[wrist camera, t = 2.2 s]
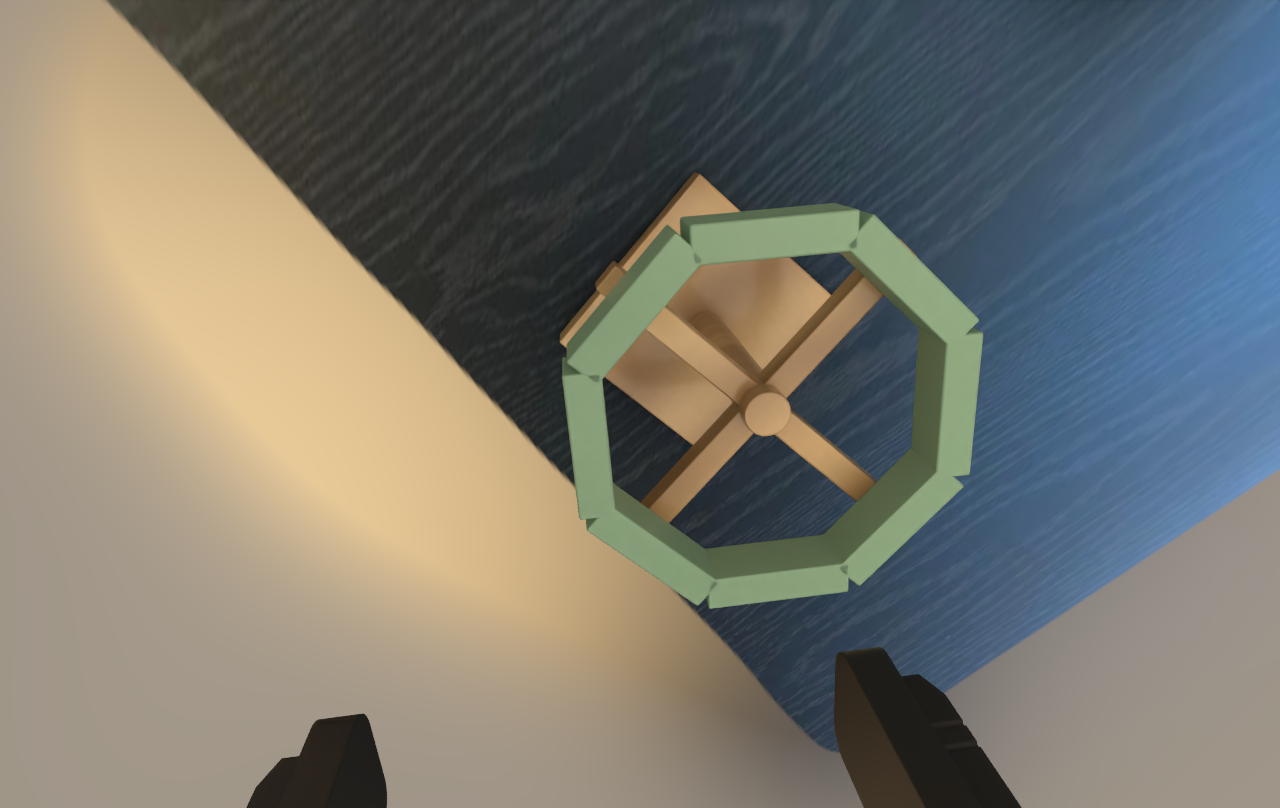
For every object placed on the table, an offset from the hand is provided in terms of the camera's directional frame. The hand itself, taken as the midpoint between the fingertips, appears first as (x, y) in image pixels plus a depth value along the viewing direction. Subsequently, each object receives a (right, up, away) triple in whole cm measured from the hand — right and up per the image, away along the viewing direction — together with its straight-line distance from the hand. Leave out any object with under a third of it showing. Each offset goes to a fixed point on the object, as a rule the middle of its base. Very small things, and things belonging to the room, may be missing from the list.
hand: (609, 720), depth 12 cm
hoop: (+5, +5, +13) cm, 15 cm away
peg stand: (+4, +10, +24) cm, 26 cm away
